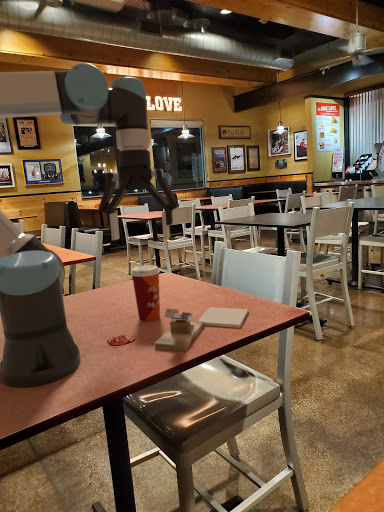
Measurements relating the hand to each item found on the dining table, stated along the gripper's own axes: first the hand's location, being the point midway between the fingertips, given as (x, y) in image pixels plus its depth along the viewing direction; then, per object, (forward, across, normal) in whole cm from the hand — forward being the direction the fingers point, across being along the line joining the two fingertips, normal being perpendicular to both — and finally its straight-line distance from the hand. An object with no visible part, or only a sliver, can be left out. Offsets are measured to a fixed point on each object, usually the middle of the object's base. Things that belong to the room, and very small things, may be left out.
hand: (140, 239), depth 90 cm
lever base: (+22, -11, +6) cm, 26 cm away
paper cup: (+23, +1, -5) cm, 23 cm away
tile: (+22, -19, -6) cm, 30 cm away
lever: (+17, -11, +6) cm, 21 cm away
